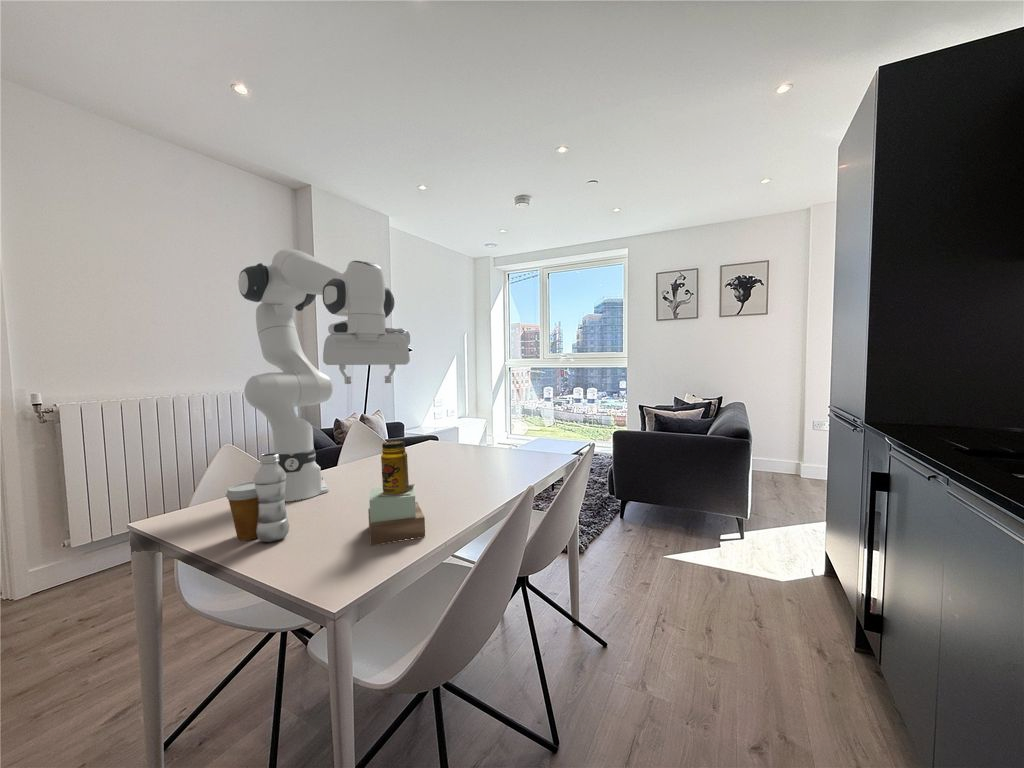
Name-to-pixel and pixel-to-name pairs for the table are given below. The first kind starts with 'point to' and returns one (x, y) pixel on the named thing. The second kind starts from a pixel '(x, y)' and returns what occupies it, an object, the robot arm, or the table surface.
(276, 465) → the plastic bottle
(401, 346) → the robot arm
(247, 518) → the disposable coffee cup
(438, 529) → the table surface
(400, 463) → the condiment
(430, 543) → the table surface
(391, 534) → the base block
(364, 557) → the table surface
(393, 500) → the top block
